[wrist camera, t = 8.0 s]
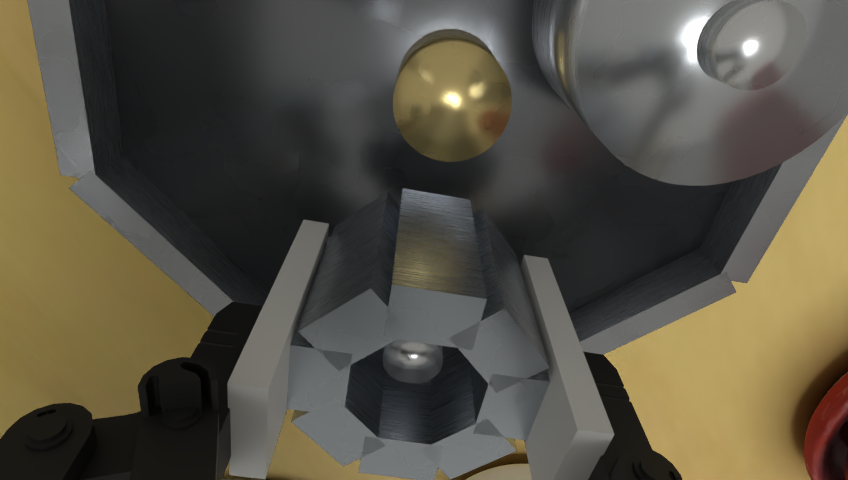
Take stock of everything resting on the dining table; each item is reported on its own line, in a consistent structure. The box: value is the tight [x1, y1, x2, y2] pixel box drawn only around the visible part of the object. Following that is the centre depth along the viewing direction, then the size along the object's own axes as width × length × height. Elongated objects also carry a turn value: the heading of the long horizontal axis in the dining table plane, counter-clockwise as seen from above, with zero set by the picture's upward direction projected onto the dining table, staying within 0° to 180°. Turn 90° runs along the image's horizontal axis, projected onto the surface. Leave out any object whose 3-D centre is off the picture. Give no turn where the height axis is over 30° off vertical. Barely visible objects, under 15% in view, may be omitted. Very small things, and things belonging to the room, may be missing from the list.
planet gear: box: [286, 188, 550, 480], centre depth 14 cm, size 6×6×5 cm
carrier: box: [27, 0, 848, 383], centre depth 13 cm, size 22×22×7 cm
